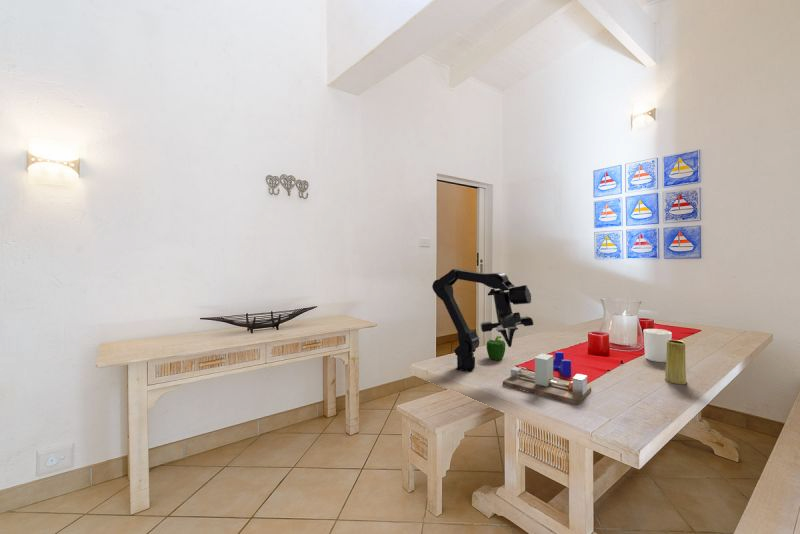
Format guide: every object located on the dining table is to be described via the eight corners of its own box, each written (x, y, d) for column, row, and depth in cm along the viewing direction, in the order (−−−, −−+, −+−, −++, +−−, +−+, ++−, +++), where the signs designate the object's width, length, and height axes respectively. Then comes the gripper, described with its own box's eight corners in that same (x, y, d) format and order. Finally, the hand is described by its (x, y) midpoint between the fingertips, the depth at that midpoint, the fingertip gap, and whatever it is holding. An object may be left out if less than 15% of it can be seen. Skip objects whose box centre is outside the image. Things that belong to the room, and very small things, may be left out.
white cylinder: (677, 362, 143) (678, 333, 142) (653, 363, 143) (653, 334, 143) (660, 355, 153) (660, 328, 152) (637, 356, 153) (637, 329, 152)
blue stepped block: (550, 365, 144) (550, 351, 144) (562, 366, 143) (562, 351, 143) (558, 376, 132) (558, 360, 132) (571, 376, 131) (571, 361, 131)
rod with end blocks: (509, 380, 127) (509, 364, 127) (515, 376, 131) (515, 361, 131) (582, 397, 111) (582, 380, 110) (587, 393, 114) (587, 375, 114)
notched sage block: (535, 383, 120) (534, 357, 120) (541, 378, 125) (541, 353, 124) (546, 386, 118) (546, 359, 117) (553, 381, 122) (553, 355, 122)
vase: (682, 379, 125) (682, 340, 125) (689, 385, 120) (690, 344, 119) (661, 377, 127) (662, 339, 127) (668, 383, 122) (669, 343, 121)
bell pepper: (489, 361, 151) (489, 339, 150) (484, 356, 159) (484, 334, 158) (508, 361, 151) (508, 338, 150) (502, 355, 159) (502, 334, 159)
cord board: (502, 385, 124) (502, 380, 124) (519, 374, 135) (519, 370, 135) (578, 404, 107) (578, 399, 107) (591, 390, 117) (591, 386, 117)
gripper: (480, 311, 125) (487, 354, 124) (533, 303, 123) (541, 347, 122) (477, 308, 136) (484, 348, 136) (526, 301, 134) (533, 342, 133)
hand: (509, 346), depth 131 cm, fingers closed
